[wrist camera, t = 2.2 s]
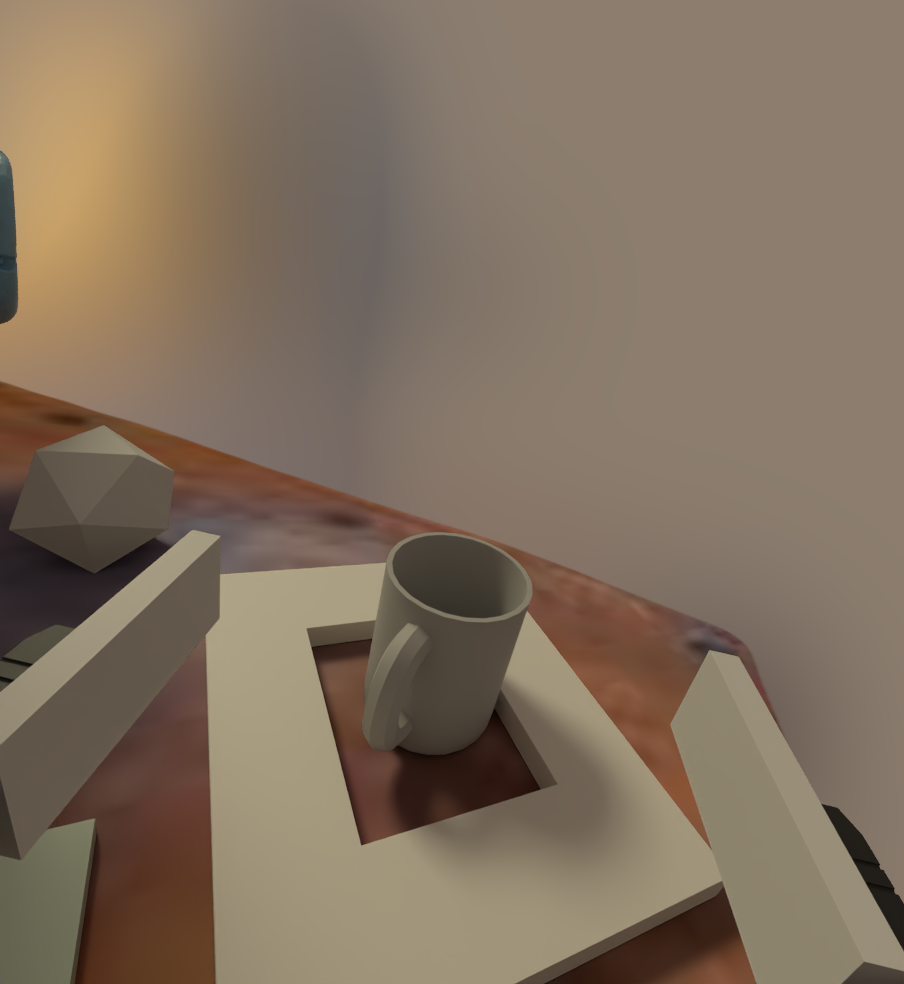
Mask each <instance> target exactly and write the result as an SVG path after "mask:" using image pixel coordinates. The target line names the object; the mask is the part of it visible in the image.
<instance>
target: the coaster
mask: <svg viewBox="0 0 904 984" xmlns="http://www.w3.org/2000/svg"><path fill="white" fill-rule="evenodd" d="M96 834H97V828H96V821H95V818H94V819H90V820H86V821H81V822H77V823H73V824H69V825H64V826H60V827H56V828H52V829H47V830H46V831H45V832H44V833H43V835H42V836H41V837H40V838H39V840H38V841H37V842H36V843H35V844H34V846H33V847H32V848H31V849H30V851H29V852H28V853H27V854H26V855H25V857H24V858H23V859H22V860H21V861H20V860H16V859H12V858H8V857H4V856H0V984H75V978H76V971H77V964H78V957H79V950H80V943H81V937H82V930H83V923H84V916H85V909H86V902H87V895H88V889H89V882H90V875H91V868H92V861H93V854H94V847H95V841H96Z"/></svg>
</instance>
